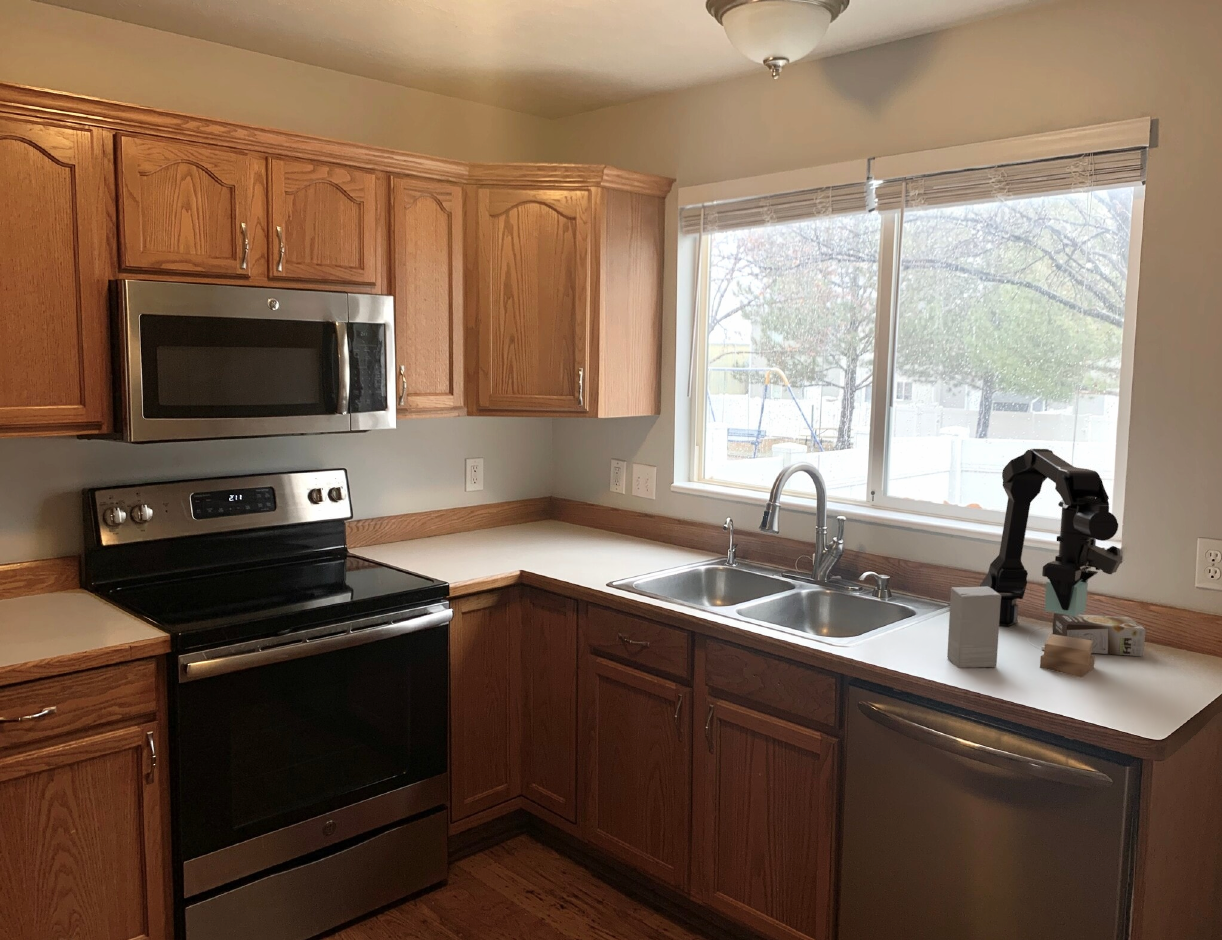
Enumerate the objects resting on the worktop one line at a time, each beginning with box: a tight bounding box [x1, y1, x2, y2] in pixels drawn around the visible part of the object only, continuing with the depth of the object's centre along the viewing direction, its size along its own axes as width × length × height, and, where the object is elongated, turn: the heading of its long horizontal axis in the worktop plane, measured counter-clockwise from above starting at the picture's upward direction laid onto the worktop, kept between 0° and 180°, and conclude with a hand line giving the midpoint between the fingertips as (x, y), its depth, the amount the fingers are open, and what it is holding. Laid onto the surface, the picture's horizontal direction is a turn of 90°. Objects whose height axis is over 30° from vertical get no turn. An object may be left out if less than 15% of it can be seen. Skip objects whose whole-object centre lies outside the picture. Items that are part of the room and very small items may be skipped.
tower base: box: [1039, 653, 1096, 678], centre depth 193 cm, size 8×8×3 cm
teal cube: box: [1043, 580, 1089, 616], centre depth 193 cm, size 6×6×6 cm
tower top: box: [1043, 633, 1092, 665], centre depth 193 cm, size 8×8×3 cm
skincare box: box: [946, 586, 1001, 669], centre depth 194 cm, size 8×7×16 cm
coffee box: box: [1052, 612, 1146, 657], centre depth 207 cm, size 9×6×16 cm
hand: (1070, 607), depth 192 cm, fingers closed on teal cube, 6 cm apart
